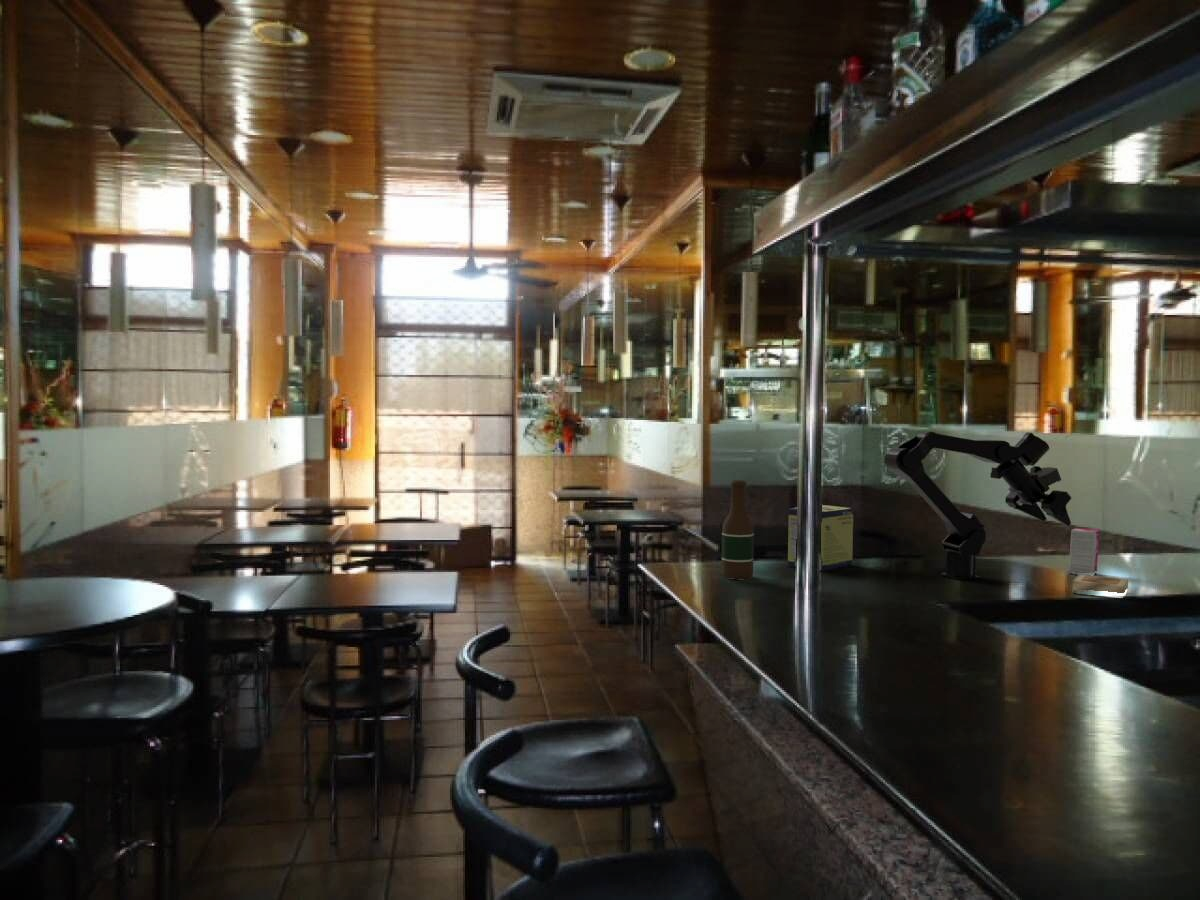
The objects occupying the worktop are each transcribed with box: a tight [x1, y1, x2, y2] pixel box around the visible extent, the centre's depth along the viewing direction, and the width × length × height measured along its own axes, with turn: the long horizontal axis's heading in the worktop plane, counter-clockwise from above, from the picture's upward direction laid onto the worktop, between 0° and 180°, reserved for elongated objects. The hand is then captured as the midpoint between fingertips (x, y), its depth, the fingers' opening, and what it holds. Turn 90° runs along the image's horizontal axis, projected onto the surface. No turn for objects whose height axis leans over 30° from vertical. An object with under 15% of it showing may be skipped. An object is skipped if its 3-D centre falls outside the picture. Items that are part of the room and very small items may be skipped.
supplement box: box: [1068, 527, 1100, 573], centre depth 230 cm, size 6×6×12 cm
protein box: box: [787, 504, 854, 572], centre depth 239 cm, size 10×16×16 cm
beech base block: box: [1072, 575, 1129, 593], centre depth 206 cm, size 10×10×3 cm
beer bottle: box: [721, 479, 755, 580], centre depth 221 cm, size 8×8×24 cm
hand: (1057, 522), depth 228 cm, fingers open, 9 cm apart
